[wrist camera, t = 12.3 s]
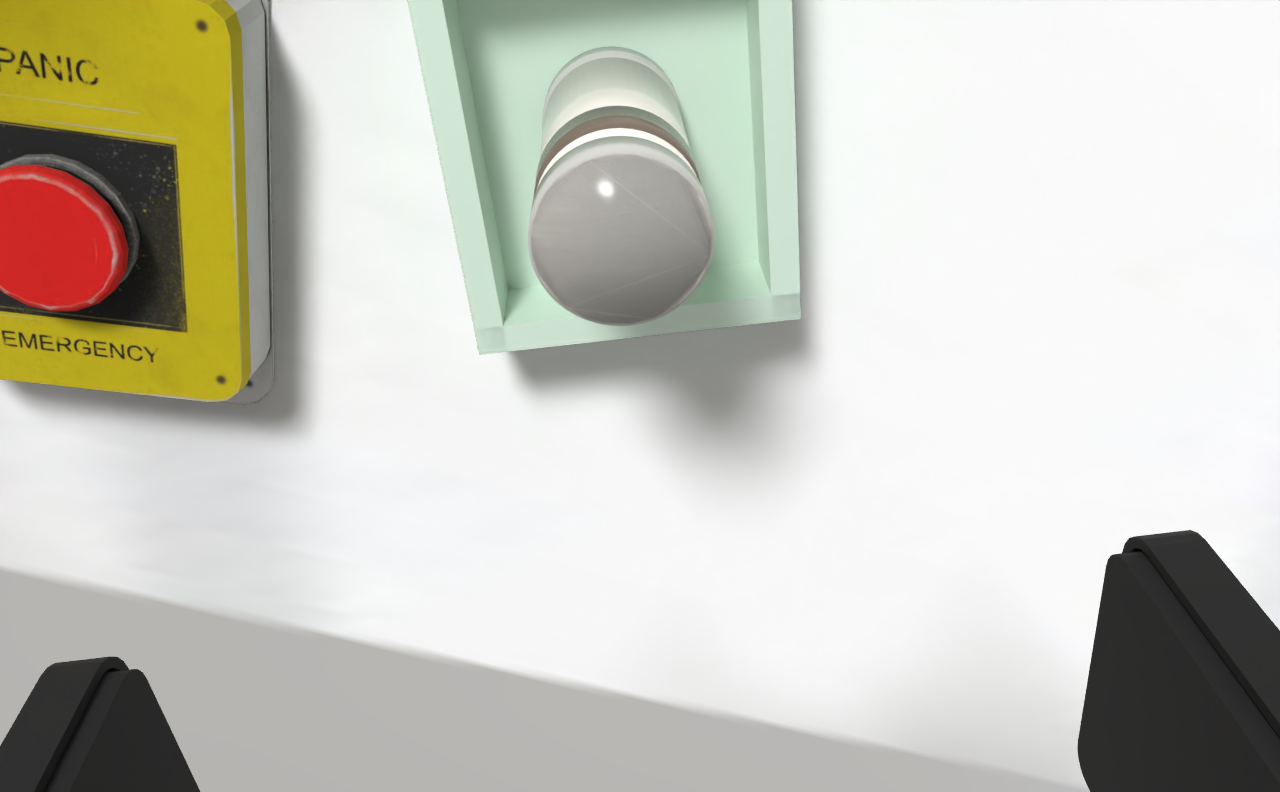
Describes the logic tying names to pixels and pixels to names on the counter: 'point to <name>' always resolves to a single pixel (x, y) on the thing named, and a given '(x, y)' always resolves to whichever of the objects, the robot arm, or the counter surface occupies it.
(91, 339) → the emergency button
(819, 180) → the counter surface
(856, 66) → the counter surface
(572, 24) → the tray
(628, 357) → the counter surface
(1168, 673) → the robot arm
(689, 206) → the fuse
